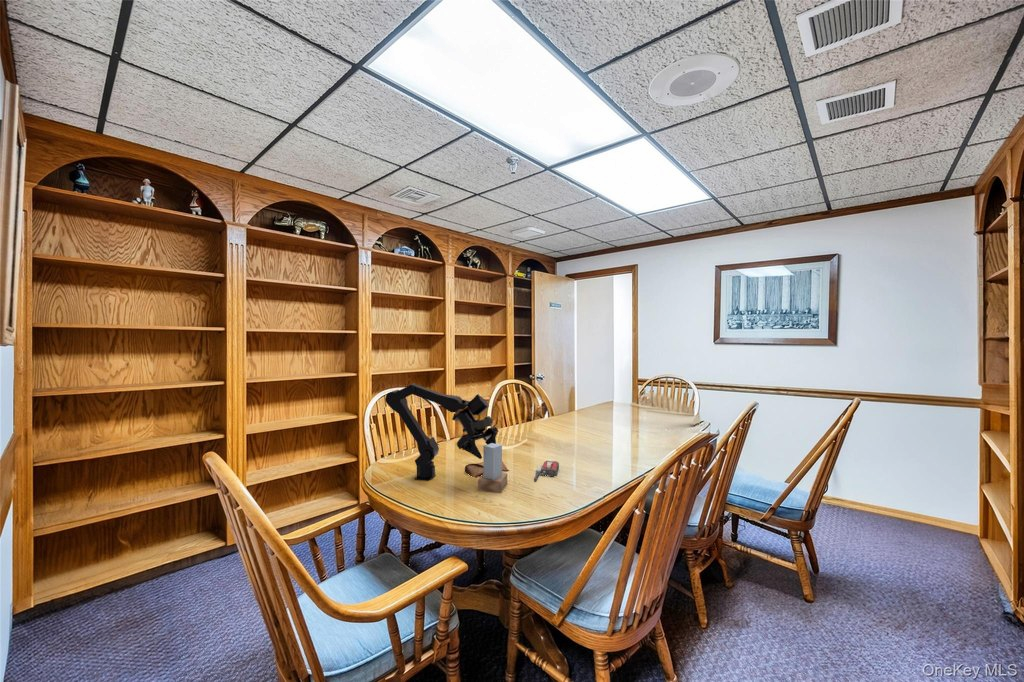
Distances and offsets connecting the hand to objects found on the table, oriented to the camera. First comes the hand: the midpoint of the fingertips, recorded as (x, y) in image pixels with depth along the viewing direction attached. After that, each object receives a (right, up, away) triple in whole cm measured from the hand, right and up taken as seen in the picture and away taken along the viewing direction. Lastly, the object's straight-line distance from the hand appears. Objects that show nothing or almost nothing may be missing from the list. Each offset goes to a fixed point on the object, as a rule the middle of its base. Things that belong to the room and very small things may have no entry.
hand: (489, 455), depth 152 cm
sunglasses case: (-2, -12, +17) cm, 21 cm away
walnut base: (+1, -12, -1) cm, 12 cm away
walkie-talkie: (+23, -12, +13) cm, 29 cm away
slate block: (+1, -8, -1) cm, 8 cm away
